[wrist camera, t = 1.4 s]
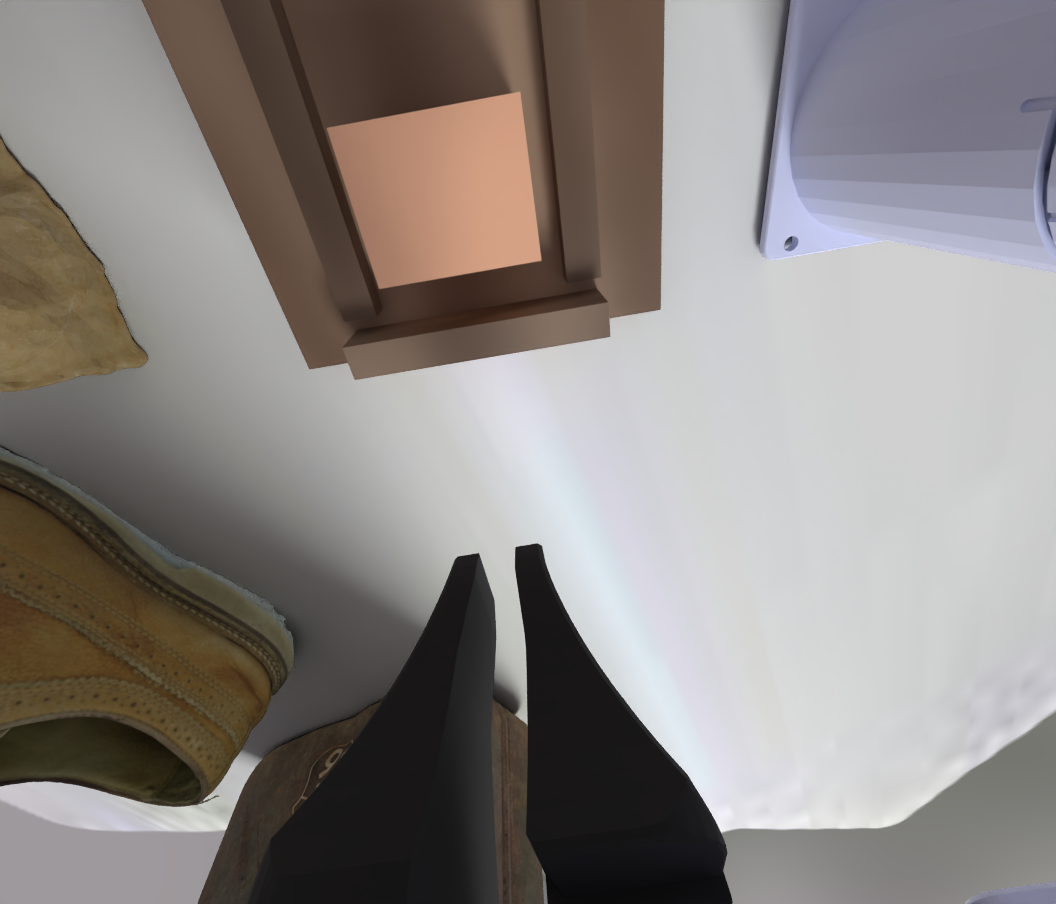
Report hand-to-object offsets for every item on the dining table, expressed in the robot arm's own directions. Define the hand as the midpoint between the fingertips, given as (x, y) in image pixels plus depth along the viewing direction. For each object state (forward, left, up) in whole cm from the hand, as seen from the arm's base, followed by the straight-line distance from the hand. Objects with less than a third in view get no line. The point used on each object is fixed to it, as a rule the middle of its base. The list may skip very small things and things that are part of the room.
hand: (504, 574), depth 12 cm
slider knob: (0, -9, -8) cm, 12 cm away
